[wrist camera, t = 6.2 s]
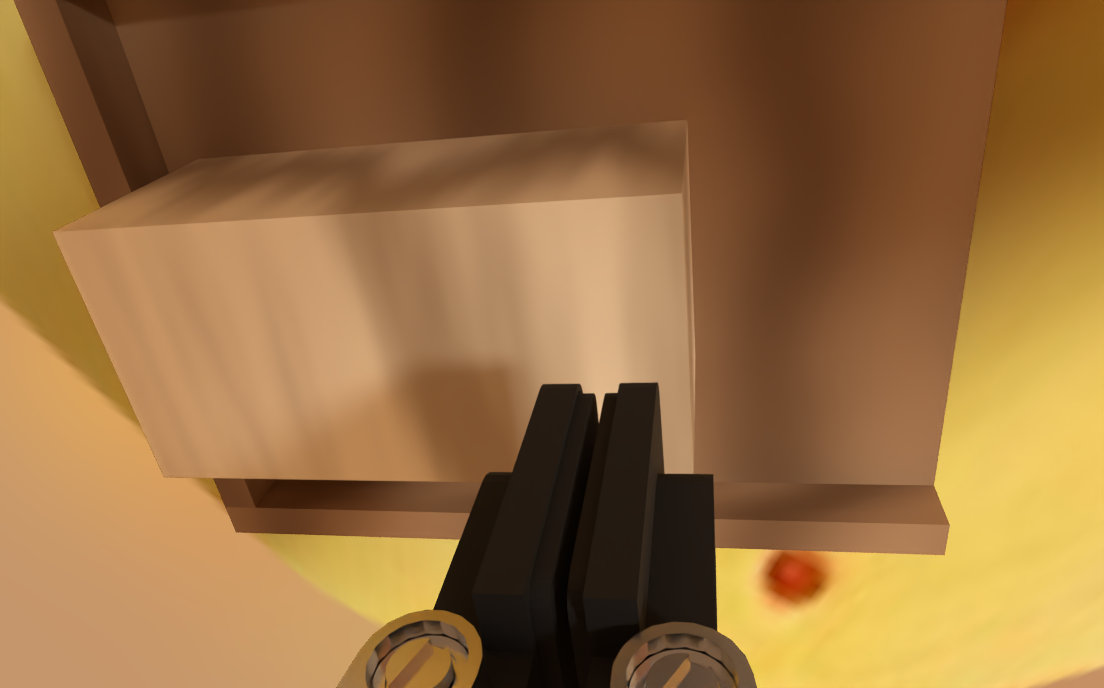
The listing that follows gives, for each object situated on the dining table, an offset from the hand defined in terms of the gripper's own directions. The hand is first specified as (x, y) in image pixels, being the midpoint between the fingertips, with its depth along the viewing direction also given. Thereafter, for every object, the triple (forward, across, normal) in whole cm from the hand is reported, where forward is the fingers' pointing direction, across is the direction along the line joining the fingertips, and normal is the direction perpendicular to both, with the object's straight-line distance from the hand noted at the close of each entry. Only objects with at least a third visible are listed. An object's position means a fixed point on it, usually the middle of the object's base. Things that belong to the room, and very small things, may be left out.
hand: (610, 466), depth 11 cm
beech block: (+6, -1, 0) cm, 6 cm away
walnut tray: (+11, +3, 0) cm, 11 cm away
